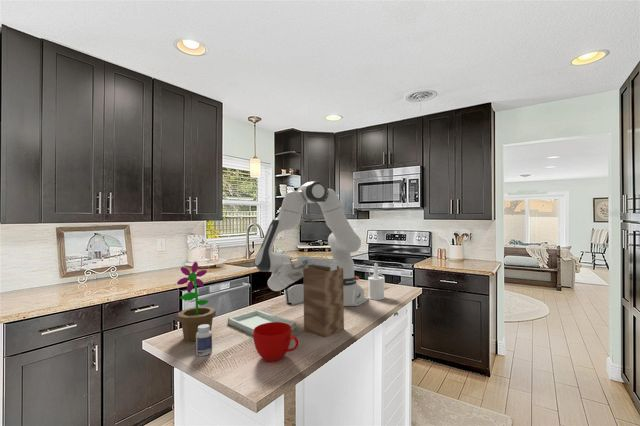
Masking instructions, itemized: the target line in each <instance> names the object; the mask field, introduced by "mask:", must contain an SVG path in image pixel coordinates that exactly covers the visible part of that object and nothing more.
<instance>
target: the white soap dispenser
mask: <svg viewBox="0 0 640 426" xmlns="http://www.w3.org/2000/svg"><path fill="white" fill-rule="evenodd" d="M373 266H374V268H373V267H372V268H370V269H369V271H368V275H370V276H368V277H367V281H368V296H367V297H368V298H369V299H370V300H372V299H373V300H374V301H380V300H381V299H382V300H384V299H385V289H386V285H385V281H386V280H385V278H386V277H385V275H383V274H382V273H379V264H378V263H377V262H375V263H374V265H373ZM371 270H374V271H373V274H370V272H371ZM382 300H381V301H382Z"/></svg>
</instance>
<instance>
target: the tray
mask: <svg viewBox="0 0 640 426" xmlns="http://www.w3.org/2000/svg"><path fill="white" fill-rule="evenodd" d="M270 322H281V323H286V324H288V325H290V326H291V332H294V331H296V330H297V328H296V327H297V324H296V322H293V321H290V320H287V319H285V318H282V317H279V316H276V315H273V314H270V313H267V312H265V311H262V310H259V309H256V310H255V309H254V310H252V311H247V312H245V313H241V314H238V315H233V316H230V317H228V318H227V325H229V326H231V327H233V328H236V329H238V330H241V331H242V332H244V333H247V334H249V335H251V336H253V337H254V334H253V332H254V329H255V327H257V326H259V325H261V324H264V323H270Z"/></svg>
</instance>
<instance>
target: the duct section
mask: <svg viewBox="0 0 640 426" xmlns="http://www.w3.org/2000/svg"><path fill="white" fill-rule="evenodd" d="M300 260H304V264H303V265H301V266H304V267H308V265H313V266H320V267H326V268H330V271H332V270H337V260H334V259H333V258H326V257H318V256H317V257H316V256H310V255H300V256H297V259H296V261H297V262H299V261H300Z"/></svg>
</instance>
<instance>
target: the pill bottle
mask: <svg viewBox="0 0 640 426" xmlns="http://www.w3.org/2000/svg"><path fill="white" fill-rule="evenodd" d="M212 332H213V331H212V330H211V331H210V325H208V324H203V325H200V326H198V332H197V333H196V342H195V353H196V355H197V356H198V355H199V356H198V357H204V356H205V355H206V356H209V355H210V354H212V352H213V333H212ZM208 354H209V355H208ZM206 356H205V357H206Z"/></svg>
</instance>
